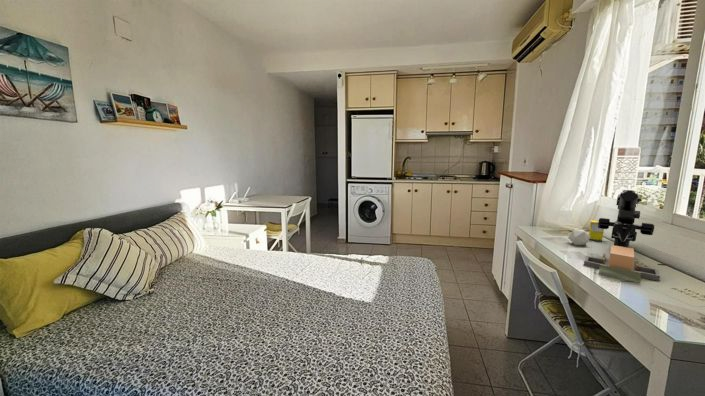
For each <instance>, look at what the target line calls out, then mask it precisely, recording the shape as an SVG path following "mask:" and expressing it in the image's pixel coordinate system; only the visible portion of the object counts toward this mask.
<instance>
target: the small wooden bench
mask: <svg viewBox="0 0 705 396" xmlns="http://www.w3.org/2000/svg"><path fill="white" fill-rule="evenodd" d="M606 257H607V253H605V252H604V253H602V258H601V259H602V262H601V264H600V269H599V268H598V274H599V275H603V276H607V277H612V278H617V279H621V280H626V281H629V282H634V283H639V284H640V283H641V279H642V277H641V272H639V266H640V262H639V260H640V259H636V258H634V270H633V269H632V270H628V269H623V268H618V267H613V266H609V264H608V265H607V264H605V263H606V262H605V261H606Z"/></svg>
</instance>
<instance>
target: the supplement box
mask: <svg viewBox="0 0 705 396" xmlns="http://www.w3.org/2000/svg"><path fill="white" fill-rule="evenodd" d="M598 222H599V220H593V219H590V224H589V231H588V235H589V236H590V239H589V240H588V241H595V242H601V243H602V242H603V238H604V231H605V229H600V228H598Z"/></svg>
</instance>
